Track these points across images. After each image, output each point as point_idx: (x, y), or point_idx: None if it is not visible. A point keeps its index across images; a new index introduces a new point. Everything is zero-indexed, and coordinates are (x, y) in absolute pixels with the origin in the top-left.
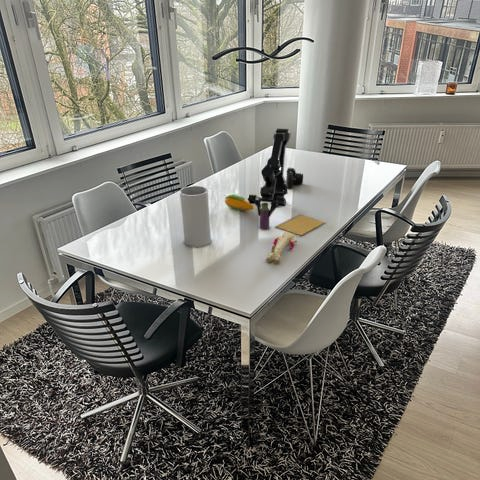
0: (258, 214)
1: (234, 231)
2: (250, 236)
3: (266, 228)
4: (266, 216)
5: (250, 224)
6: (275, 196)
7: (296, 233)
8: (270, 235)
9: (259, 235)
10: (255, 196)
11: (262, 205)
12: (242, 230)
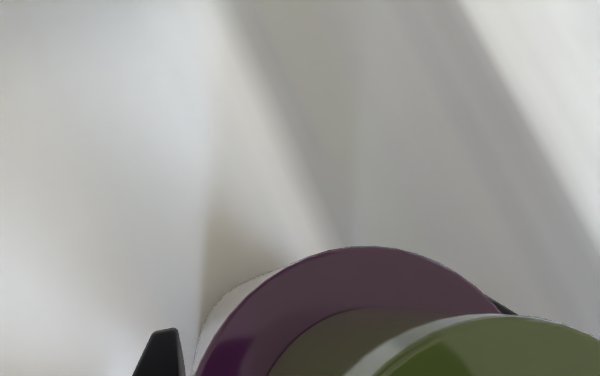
0: None
1: (571, 80)
2: (333, 8)
3: (219, 301)
4: (230, 301)
5: None
6: None
7: None
8: (79, 119)
9: (235, 69)
10: None
11: (544, 323)
12: (506, 139)
